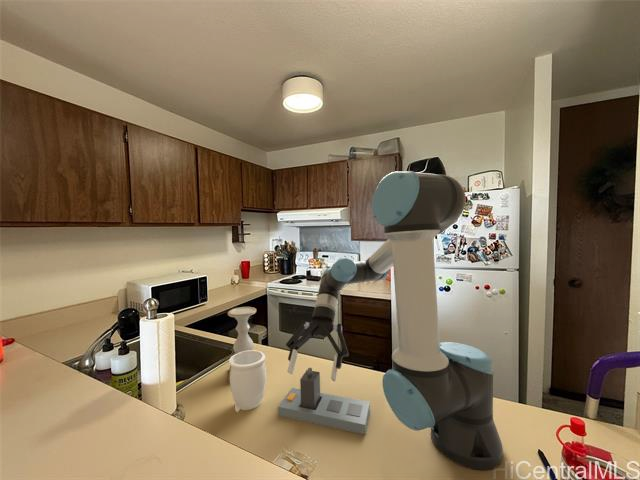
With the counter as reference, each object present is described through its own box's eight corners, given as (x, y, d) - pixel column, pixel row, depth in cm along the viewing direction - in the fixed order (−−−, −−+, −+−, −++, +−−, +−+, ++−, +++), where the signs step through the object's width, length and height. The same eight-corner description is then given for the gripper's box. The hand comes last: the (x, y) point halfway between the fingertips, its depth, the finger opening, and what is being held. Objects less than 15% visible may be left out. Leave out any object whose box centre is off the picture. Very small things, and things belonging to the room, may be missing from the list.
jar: (223, 413, 75) (221, 363, 74) (245, 392, 85) (243, 347, 84) (254, 422, 71) (252, 368, 71) (273, 399, 81) (272, 352, 80)
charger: (320, 405, 75) (319, 365, 75) (314, 417, 70) (313, 374, 70) (307, 403, 76) (306, 363, 76) (301, 414, 71) (300, 372, 71)
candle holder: (259, 364, 103) (257, 305, 102) (260, 379, 92) (257, 313, 91) (230, 368, 100) (227, 307, 99) (227, 384, 89) (225, 316, 89)
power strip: (370, 415, 72) (369, 399, 72) (365, 440, 64) (365, 422, 64) (292, 400, 80) (291, 386, 80) (278, 420, 71) (278, 404, 71)
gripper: (362, 318, 88) (354, 386, 74) (295, 312, 96) (277, 373, 82) (359, 307, 83) (350, 379, 69) (288, 302, 91) (268, 365, 77)
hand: (310, 376), depth 76 cm, fingers open, 13 cm apart
